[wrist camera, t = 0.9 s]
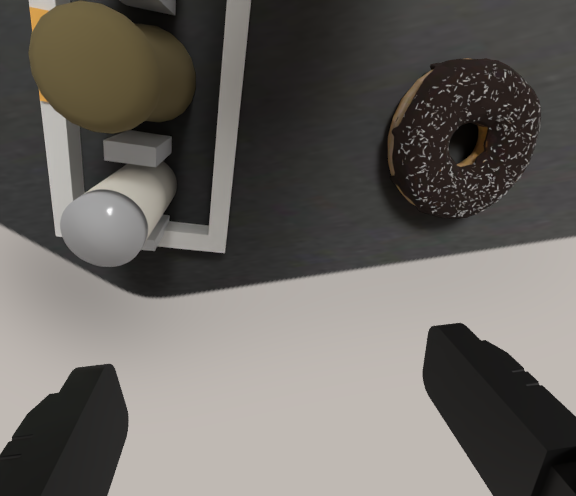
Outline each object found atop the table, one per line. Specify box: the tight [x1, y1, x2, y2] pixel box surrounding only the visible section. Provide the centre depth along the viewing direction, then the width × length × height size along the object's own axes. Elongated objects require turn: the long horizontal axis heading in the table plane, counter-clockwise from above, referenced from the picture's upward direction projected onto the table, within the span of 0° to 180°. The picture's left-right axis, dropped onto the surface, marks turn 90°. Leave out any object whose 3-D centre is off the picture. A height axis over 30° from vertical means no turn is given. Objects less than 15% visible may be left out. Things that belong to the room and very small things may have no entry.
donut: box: [388, 58, 541, 219], centre depth 27 cm, size 11×12×4 cm
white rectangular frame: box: [29, 0, 251, 253], centre depth 22 cm, size 24×12×5 cm, turn 170°
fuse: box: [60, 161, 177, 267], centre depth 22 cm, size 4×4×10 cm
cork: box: [28, 1, 196, 134], centre depth 19 cm, size 6×6×11 cm
